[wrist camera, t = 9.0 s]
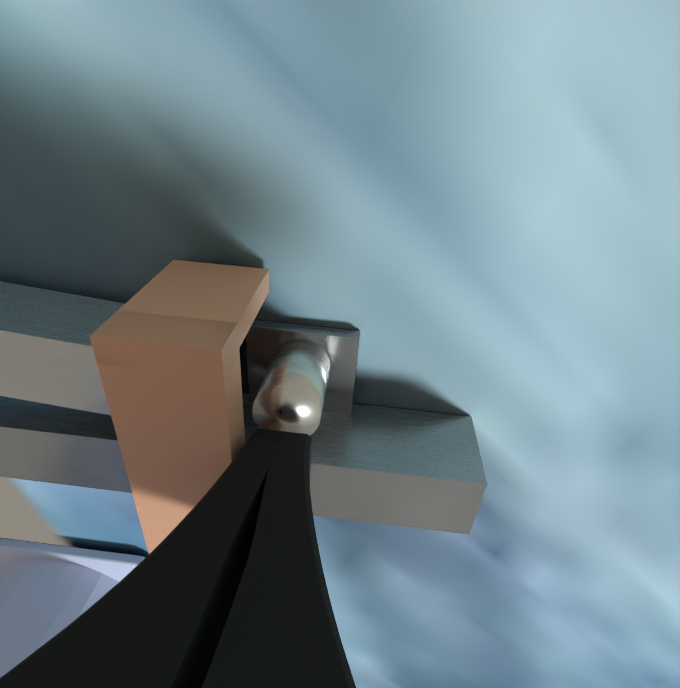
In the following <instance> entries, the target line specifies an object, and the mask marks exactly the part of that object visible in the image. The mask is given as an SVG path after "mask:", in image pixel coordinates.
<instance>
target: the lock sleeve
mask: <svg viewBox="0 0 680 688" xmlns="http://www.w3.org/2000/svg"><path fill="white" fill-rule="evenodd" d="M268 293H269V269H263V268H253V267H243V266H233V265H223V264H213V263H203V262H193V261H183V260H173V261H172V262H170V263H169V264H168V265H167V266H166V267H165V268H164V269H163V270H162V271H161V272H159V273H158V274H157V275H156V276H155V277H154V278H153V279H152V280H151V281H150V282H148V283H147V284H146V285H145V286H144V287H143V288H142V289H141V290H140V291H139V292H137V293H136V294H135V295H134V296H133V297H132V298H131V299H130V300H129V301H128V302H126V303H125V304H124V305H123V306H122V307H121V308H120V309H119V310H118V311H117V312H115V313H114V314H113V315H112V316H111V317H110V318H109V319H108V320H107V321H106V322H104V323H103V324H102V325H101V326H100V327H99V328H98V329H97V330H96V331H95V332H93V333H92V334H91V335H90V336H89V337H90V340H91V344H92V348H93V351H94V355H95V358H96V362H97V366H98V369H99V373H100V377H101V380H102V384H103V388H104V391H105V395H106V399H107V402H108V406H109V410H110V413H111V417H112V421H113V424H114V428H115V432H116V435H117V439H118V443H119V446H120V450H121V454H122V457H123V461H124V464H125V468H126V472H127V475H128V479H129V483H130V486H131V490H132V494H133V497H134V501H135V505H136V508H137V512H138V516H139V519H140V523H141V527H142V530H143V534H144V538H145V541H146V545H147V549H148V552H149V554H150V553H151V552H152V551H153V550H154V549H155V548H156V547H157V546H158V545H159V544H160V543H161V542H162V541H163V540H164V539H165V538H166V537H167V536H168V535H169V534H170V533H171V532H172V530H173V529H174V528H175V527H176V526H177V525H178V524H179V523H180V522H181V521H182V520H183V519H184V518H185V516H186V515H187V514H188V513H189V512H190V511H191V510H192V509H193V508H194V507H195V506H196V505H197V503H198V502H199V501H200V500H201V499H202V498H203V496H204V495H205V494H206V493H207V492H208V491H209V489H210V488H211V487H212V486H213V485H214V483H215V482H216V481H217V480H218V479H219V477H220V476H221V475H222V474H223V473H224V471H225V470H226V469H227V467H228V466H229V465H230V464H231V462H232V461H233V460H234V458H235V457H236V456H237V454H238V453H239V452H240V450H241V449H242V448H243V446H244V445H245V430H244V414H243V399H242V383H241V368H240V352H239V348H240V346H241V344H242V342H243V340H244V339H245V337H246V335H247V333H248V331H249V329H250V327H251V325H252V323H253V321H254V320H255V318H256V316H257V314H258V312H259V310H260V308H261V306H262V304H263V302H264V301H265V299H266V297H267V295H268Z"/></svg>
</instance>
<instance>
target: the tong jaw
mask: <svg viewBox="0 0 680 688" xmlns="http://www.w3.org/2000/svg"><path fill="white" fill-rule="evenodd" d="M124 304H125V303H120V302H115V301H109V300H103V299H98V298H92V297H86V296H81V295H75V294H69V293H64V292H58V291H52V290H47V289H41V288H35V287H30V286H24V285H19V284H13V283H7V282H2V281H0V396H5V397H10V398H16V399H22V400H27V401H33V402H39V403H44V404H50V405H56V406H61V407H67V408H73V409H78V410H84V411H90V412H95V413H101V414H107V415H111V413H110V410H109V406H108V402H107V399H106V395H105V391H104V388H103V384H102V380H101V377H100V373H99V369H98V366H97V362H96V358H95V355H94V351H93V348H92V344H91V340H90V337H89V336H90V335H91V334H92V333H93V332H95V331H96V330H97V329H98V328H99V327H100V326H101V325H102V324H103V323H104V322H106V321H107V320H108V319H109V318H110V317H111V316H112V315H113V314H114V313H115V312H117V311H118V310H119V309H120V308H121V307H122V306H123V305H124Z"/></svg>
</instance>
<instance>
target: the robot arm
mask: <svg viewBox="0 0 680 688" xmlns="http://www.w3.org/2000/svg"><path fill="white" fill-rule="evenodd" d="M311 452H312V438H311V437H310V436H309V435H308V434H303V433H294V432H286V431H277V430H269V429H260V428H258V429H257V430H255V431H254V432H253V433H252V435H251V436H250V438H249V439H248V441H247V442H246V443H245V445H244V446H243V448H242V449H241V450H240V452H239V453H238V454H237V456H236V457H235V458H234V460H233V461H232V462H231V464H230V465H229V466H228V467H227V469H226V470H225V471H224V473H223V474H222V475H221V476H220V477H219V479H218V480H217V481H216V482H215V483H214V485H213V486H212V487H211V488H210V489H209V491H208V492H207V493H206V494H205V495H204V496H203V498H202V499H201V500H200V501H199V502H198V503H197V505H196V506H195V507H194V508H193V509H192V510H191V511H190V512H189V513H188V514H187V515H186V516H185V518H184V519H183V520H182V521H181V522H180V523H179V524H178V525H177V526H176V527H175V528H174V529H173V530H172V532H171V533H170V534H169V535H168V536H167V537H166V538H165V539H164V540H163V541H162V542H161V543H160V544H159V545H158V546H157V547H156V548H155V549H154V550H153V551H152V552H151V553H150V554H149V555H148V556H147V557H146V558H145V557H143V556H138V555H130V554H123V553H115V552H107V551H99V550H92V549H84V548H76V547H69V546H61V545H53V544H45V543H38V542H30V541H22V540H14V539H7V538H0V688H356V686H355V683H354V680H353V677H352V674H351V671H350V667H349V664H348V661H347V658H346V655H345V652H344V649H343V645H342V642H341V639H340V635H339V632H338V628H337V625H336V621H335V617H334V614H333V610H332V606H331V602H330V598H329V594H328V590H327V586H326V582H325V578H324V573H323V569H322V564H321V559H320V554H319V549H318V544H317V538H316V532H315V526H314V519H313V511H312V503H311V495H310V472H311Z"/></svg>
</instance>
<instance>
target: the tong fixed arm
mask: <svg viewBox="0 0 680 688" xmlns="http://www.w3.org/2000/svg"><path fill="white" fill-rule="evenodd" d="M359 337H360V331H356V330H346V329H337V328H327V327H318V326H308V325H299V324H289V323H279V322H270V321H260V320H254V321H253V323H252V325H251V327H250V329H249V331H248V333H247V335H246V350H247V369H248V387H249V392H247V391H242V399H243V414H244V430H245V443H246V442H247V441H248V439H249V438H250V436H251V435H252V433H253V432H254V431H255V430H257V429H258V428H260V429H269V430H277V431H286V432H294V433H303V434H308V435H309V436H310V437H311V438H312V452H311V472H310V495H311V503H312V511H313V515H316V516H324V517H333V518H341V519H349V520H357V521H365V522H373V523H381V524H389V525H397V526H406V527H414V528H422V529H430V530H438V531H446V532H454V533H462V534H469V533H470V530H471V528H472V525H473V522H474V519H475V517H476V514H477V511H478V508H479V505H480V503H481V500H482V497H483V494H484V491H485V489H486V486H487V482H486V478H485V473H484V469H483V465H482V460H481V456H480V452H479V447H478V443H477V439H476V435H475V430H474V426H473V422H472V417H470V416H461V415H452V414H443V413H434V412H425V411H417V410H408V409H399V408H390V407H381V406H372V405H363V404H354V403H353V394H354V384H355V375H356V365H357V356H358V346H359ZM0 477H8V478H16V479H24V480H33V481H41V482H49V483H57V484H65V485H73V486H81V487H89V488H97V489H106V490H114V491H122V492H130V493H132V490H131V486H130V483H129V479H128V475H127V472H126V468H125V464H124V461H123V457H122V454H121V450H120V446H119V443H118V439H117V435H116V432H115V428H114V424H113V421H112V417H111V415H107V414H101V413H95V412H90V411H84V410H78V409H73V408H67V407H61V406H56V405H50V404H44V403H39V402H33V401H27V400H22V399H16V398H10V397H5V396H0Z"/></svg>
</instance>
